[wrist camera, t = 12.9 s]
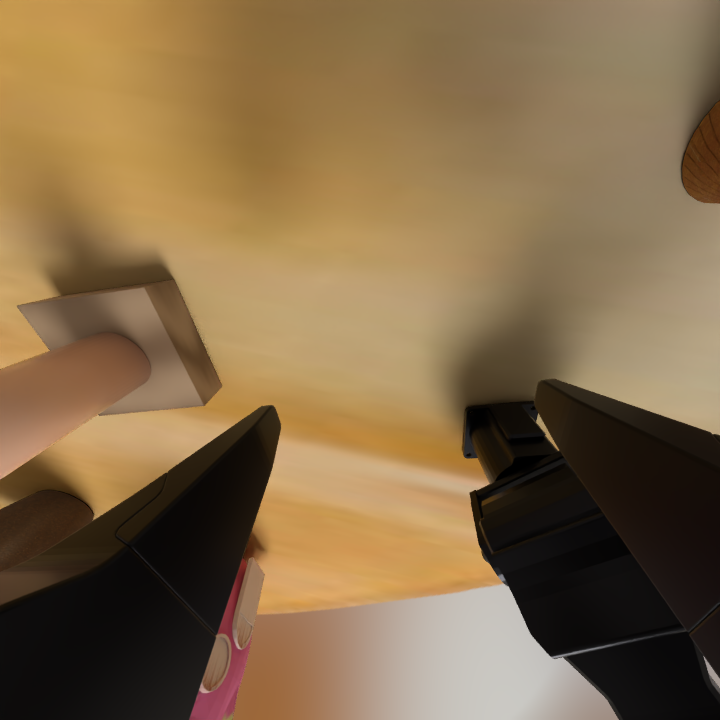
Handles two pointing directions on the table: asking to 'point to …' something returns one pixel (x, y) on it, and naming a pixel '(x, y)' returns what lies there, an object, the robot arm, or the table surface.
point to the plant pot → (38, 525)
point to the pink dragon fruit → (230, 647)
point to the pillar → (64, 392)
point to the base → (136, 340)
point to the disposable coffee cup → (704, 160)
